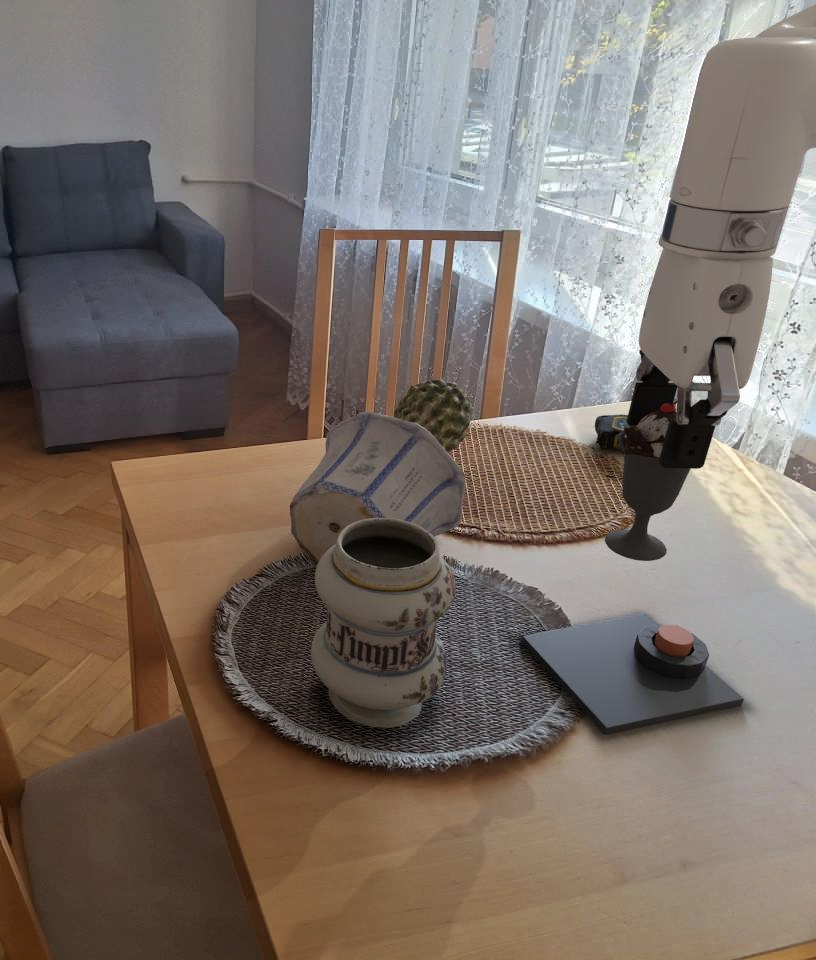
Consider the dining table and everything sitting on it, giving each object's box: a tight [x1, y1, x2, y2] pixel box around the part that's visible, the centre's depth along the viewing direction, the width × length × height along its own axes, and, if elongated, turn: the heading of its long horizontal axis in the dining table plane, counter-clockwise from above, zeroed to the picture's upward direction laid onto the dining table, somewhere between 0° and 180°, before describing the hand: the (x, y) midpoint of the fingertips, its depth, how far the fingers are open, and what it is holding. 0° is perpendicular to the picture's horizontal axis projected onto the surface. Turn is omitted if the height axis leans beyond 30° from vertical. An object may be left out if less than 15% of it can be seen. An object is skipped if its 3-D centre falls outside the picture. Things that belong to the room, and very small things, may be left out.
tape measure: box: [594, 414, 629, 452], centre depth 123 cm, size 7×7×4 cm
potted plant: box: [289, 378, 473, 564], centre depth 102 cm, size 18×18×30 cm
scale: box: [520, 612, 745, 736], centre depth 81 cm, size 14×13×3 cm
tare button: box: [654, 624, 694, 657], centre depth 81 cm, size 3×3×2 cm
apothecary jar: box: [310, 518, 457, 729], centre depth 76 cm, size 12×12×18 cm
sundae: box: [604, 400, 691, 562], centre depth 73 cm, size 7×7×15 cm
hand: (662, 443), depth 71 cm, fingers closed on sundae, 6 cm apart
